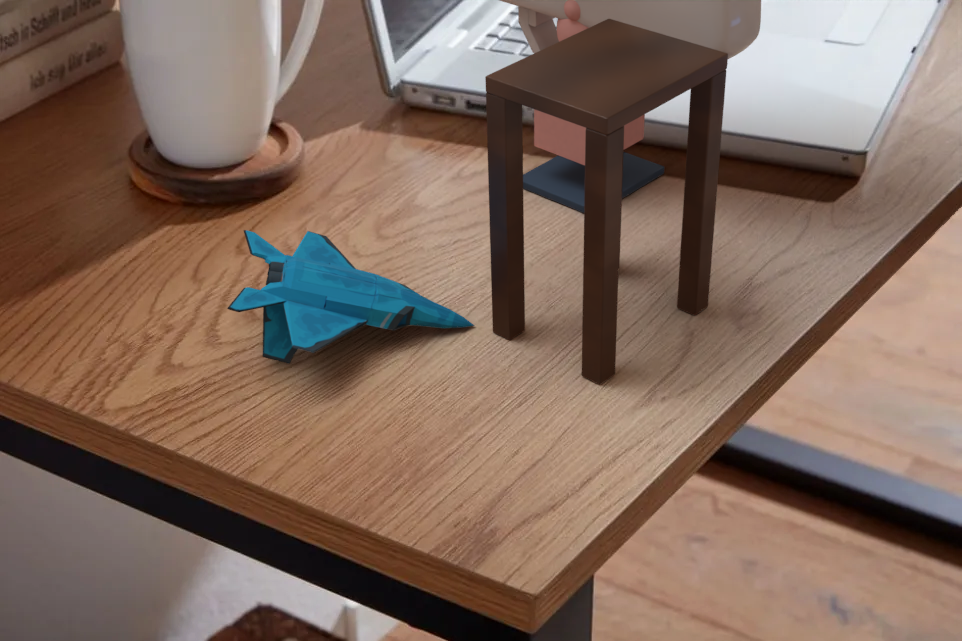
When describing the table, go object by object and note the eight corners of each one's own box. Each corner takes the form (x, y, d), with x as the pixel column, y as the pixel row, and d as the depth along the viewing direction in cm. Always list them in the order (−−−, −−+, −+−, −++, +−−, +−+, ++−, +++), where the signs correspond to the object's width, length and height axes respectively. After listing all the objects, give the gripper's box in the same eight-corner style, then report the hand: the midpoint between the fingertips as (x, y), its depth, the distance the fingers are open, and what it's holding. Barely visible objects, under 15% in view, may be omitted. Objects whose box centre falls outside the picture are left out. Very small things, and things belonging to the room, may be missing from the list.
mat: (664, 173, 82) (664, 166, 81) (592, 217, 78) (592, 209, 77) (588, 145, 85) (588, 138, 85) (515, 185, 81) (515, 178, 81)
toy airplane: (277, 415, 63) (267, 343, 60) (183, 322, 69) (171, 253, 67) (475, 328, 69) (473, 259, 66) (371, 250, 75) (367, 184, 73)
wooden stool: (708, 306, 69) (728, 53, 62) (600, 385, 64) (607, 118, 56) (602, 261, 73) (608, 17, 66) (492, 332, 68) (484, 75, 60)
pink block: (645, 139, 80) (652, -15, 75) (592, 169, 77) (597, 11, 72) (586, 118, 83) (590, -32, 77) (533, 146, 80) (533, -8, 74)
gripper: (799, -130, 66) (772, 124, 74) (494, -190, 78) (498, 35, 86) (727, -100, 63) (706, 164, 70) (418, -168, 74) (429, 65, 82)
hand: (590, 92), depth 78 cm, fingers closed on pink block, 4 cm apart
